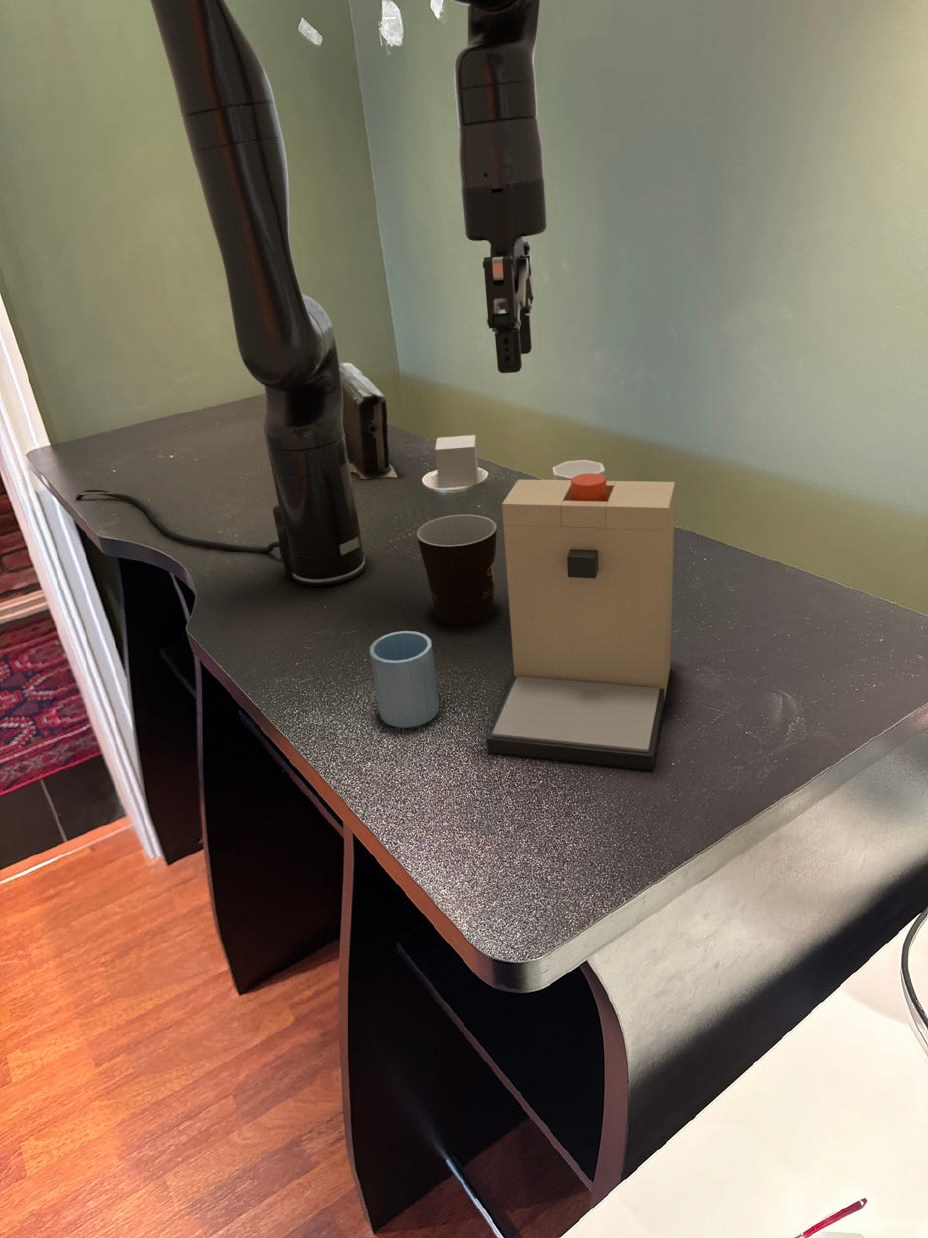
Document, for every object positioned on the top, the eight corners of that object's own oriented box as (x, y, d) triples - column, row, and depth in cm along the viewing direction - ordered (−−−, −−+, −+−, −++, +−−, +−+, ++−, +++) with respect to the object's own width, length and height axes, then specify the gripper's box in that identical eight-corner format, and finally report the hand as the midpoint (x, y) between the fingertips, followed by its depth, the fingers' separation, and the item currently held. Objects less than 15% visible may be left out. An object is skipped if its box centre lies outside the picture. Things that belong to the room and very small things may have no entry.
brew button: (568, 509, 76) (568, 484, 75) (575, 496, 78) (574, 472, 77) (603, 510, 75) (603, 485, 74) (609, 497, 77) (608, 473, 76)
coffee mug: (477, 636, 94) (469, 551, 89) (411, 621, 98) (400, 539, 94) (529, 590, 103) (524, 510, 98) (466, 578, 107) (458, 501, 102)
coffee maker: (487, 752, 76) (468, 552, 67) (529, 657, 90) (518, 479, 81) (652, 770, 72) (655, 560, 63) (670, 668, 86) (675, 481, 76)
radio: (397, 477, 142) (385, 384, 135) (344, 485, 141) (329, 392, 134) (377, 438, 162) (366, 355, 155) (331, 445, 161) (317, 362, 154)
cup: (616, 528, 116) (616, 470, 112) (548, 546, 113) (545, 486, 109) (590, 512, 122) (589, 455, 118) (524, 527, 119) (521, 470, 115)
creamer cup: (371, 724, 82) (360, 660, 78) (392, 691, 86) (383, 629, 83) (428, 730, 80) (419, 664, 77) (446, 696, 85) (439, 633, 81)
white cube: (441, 474, 142) (437, 437, 139) (478, 471, 141) (475, 434, 138) (438, 487, 136) (434, 449, 133) (477, 484, 136) (474, 446, 133)
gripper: (474, 181, 87) (489, 350, 94) (446, 187, 74) (465, 381, 82) (550, 173, 85) (559, 345, 92) (535, 177, 73) (547, 376, 80)
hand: (515, 362), depth 87 cm, fingers open, 8 cm apart
